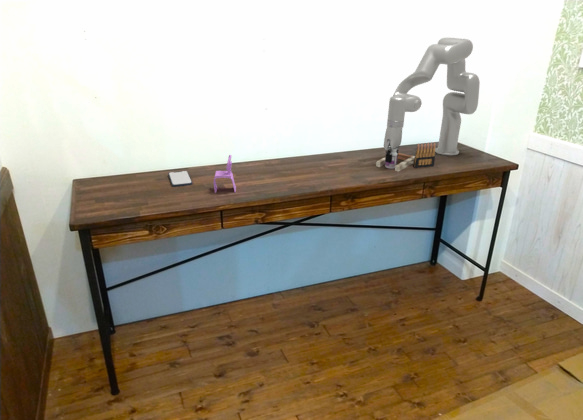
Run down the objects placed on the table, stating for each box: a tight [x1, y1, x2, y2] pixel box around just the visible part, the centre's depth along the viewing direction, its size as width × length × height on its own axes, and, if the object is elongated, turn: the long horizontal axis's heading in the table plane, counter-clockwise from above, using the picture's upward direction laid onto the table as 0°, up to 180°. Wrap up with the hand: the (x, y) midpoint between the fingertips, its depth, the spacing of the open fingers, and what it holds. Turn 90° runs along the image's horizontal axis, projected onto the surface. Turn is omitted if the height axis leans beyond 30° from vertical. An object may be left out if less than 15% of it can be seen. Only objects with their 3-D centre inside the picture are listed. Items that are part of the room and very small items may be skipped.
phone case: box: [167, 170, 193, 188], centre depth 201 cm, size 9×2×16 cm
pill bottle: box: [384, 146, 399, 170], centre depth 219 cm, size 5×5×10 cm
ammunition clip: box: [412, 141, 436, 169], centre depth 221 cm, size 11×2×12 cm, turn 107°
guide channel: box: [375, 152, 415, 172], centre depth 225 cm, size 20×12×2 cm, turn 142°
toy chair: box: [213, 154, 237, 194], centre depth 188 cm, size 8×9×15 cm
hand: (391, 160), depth 220 cm, fingers closed on pill bottle, 5 cm apart
